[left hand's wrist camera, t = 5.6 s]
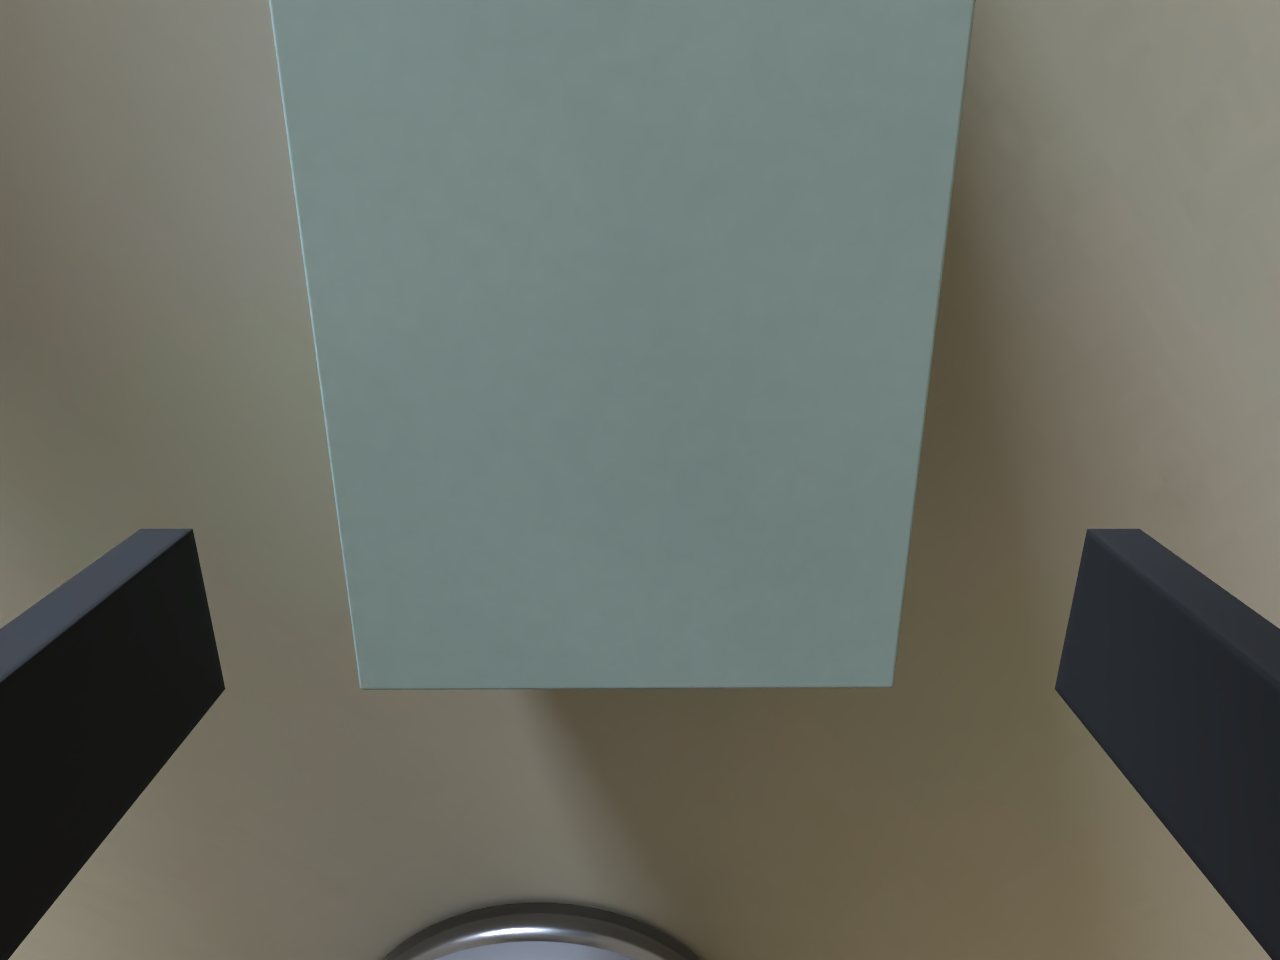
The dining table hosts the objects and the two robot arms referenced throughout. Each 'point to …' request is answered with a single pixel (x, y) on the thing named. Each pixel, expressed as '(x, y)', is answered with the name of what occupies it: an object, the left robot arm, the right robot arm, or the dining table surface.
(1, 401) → the dining table surface
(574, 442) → the grey boxy piece
